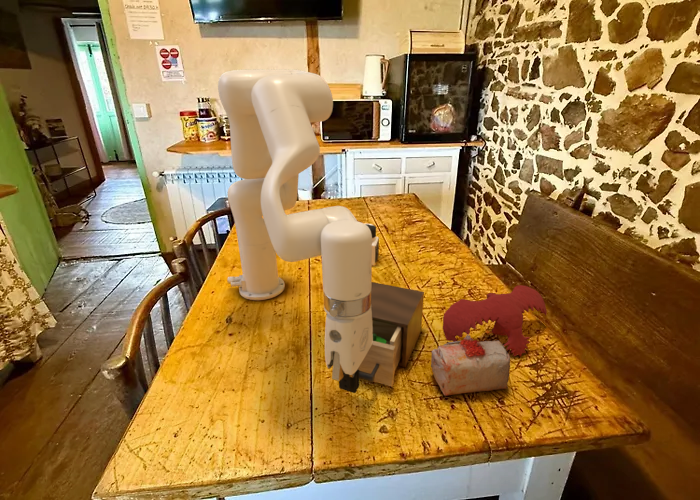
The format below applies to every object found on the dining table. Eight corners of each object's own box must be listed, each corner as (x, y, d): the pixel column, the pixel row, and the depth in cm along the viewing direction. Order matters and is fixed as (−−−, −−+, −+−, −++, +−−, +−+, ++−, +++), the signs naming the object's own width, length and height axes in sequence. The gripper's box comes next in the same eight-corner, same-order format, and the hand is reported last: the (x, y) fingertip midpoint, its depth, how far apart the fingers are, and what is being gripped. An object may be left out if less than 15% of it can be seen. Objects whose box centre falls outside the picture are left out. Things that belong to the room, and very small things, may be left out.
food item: (440, 401, 73) (445, 359, 69) (427, 372, 80) (430, 332, 76) (510, 394, 75) (518, 352, 71) (491, 365, 82) (498, 326, 78)
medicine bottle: (375, 266, 124) (376, 230, 119) (353, 264, 125) (352, 229, 120) (378, 256, 130) (379, 222, 125) (357, 254, 132) (357, 221, 127)
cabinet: (405, 367, 82) (407, 324, 77) (349, 352, 86) (348, 311, 82) (421, 330, 93) (424, 291, 89) (371, 319, 98) (371, 281, 93)
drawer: (384, 403, 72) (385, 365, 68) (328, 386, 76) (326, 349, 72) (409, 348, 86) (411, 314, 82) (360, 336, 90) (360, 303, 86)
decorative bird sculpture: (549, 344, 95) (525, 284, 99) (580, 339, 86) (552, 274, 90) (449, 376, 85) (428, 309, 89) (473, 374, 77) (447, 300, 81)
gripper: (350, 330, 55) (352, 426, 62) (385, 281, 67) (383, 366, 75) (303, 318, 57) (310, 412, 65) (345, 273, 70) (346, 356, 77)
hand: (349, 387), depth 70 cm, fingers closed
